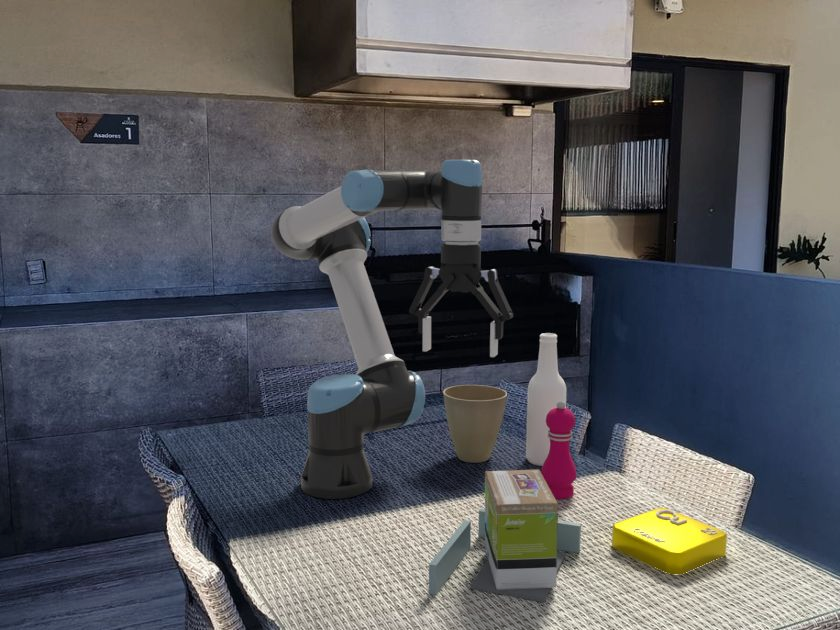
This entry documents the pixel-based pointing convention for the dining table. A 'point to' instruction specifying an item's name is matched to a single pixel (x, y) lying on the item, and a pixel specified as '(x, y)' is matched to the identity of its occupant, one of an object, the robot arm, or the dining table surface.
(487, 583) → the mat
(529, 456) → the alcohol
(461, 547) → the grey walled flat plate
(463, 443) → the plant pot
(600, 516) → the dining table surface
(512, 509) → the tea box
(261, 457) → the dining table surface
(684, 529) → the element tile
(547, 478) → the pepper mill
